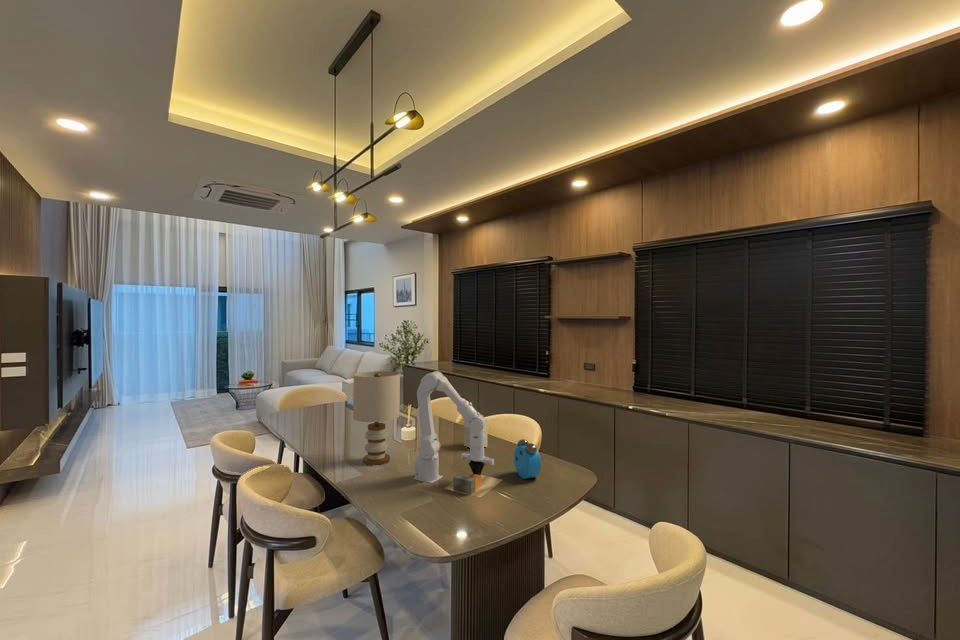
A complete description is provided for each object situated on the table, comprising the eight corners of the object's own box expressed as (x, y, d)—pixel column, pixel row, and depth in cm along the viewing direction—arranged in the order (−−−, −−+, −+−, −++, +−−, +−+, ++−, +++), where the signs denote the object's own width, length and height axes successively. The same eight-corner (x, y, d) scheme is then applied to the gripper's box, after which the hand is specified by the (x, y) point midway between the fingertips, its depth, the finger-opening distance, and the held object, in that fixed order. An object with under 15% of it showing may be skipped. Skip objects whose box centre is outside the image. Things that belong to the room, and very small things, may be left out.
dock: (444, 489, 151) (444, 475, 152) (469, 473, 168) (469, 460, 168) (479, 498, 144) (479, 484, 144) (502, 480, 160) (502, 467, 160)
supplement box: (477, 443, 210) (477, 415, 211) (487, 447, 204) (488, 418, 204) (463, 446, 205) (463, 417, 205) (474, 450, 198) (474, 421, 198)
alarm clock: (541, 482, 159) (541, 445, 159) (528, 484, 157) (528, 446, 157) (525, 470, 171) (525, 436, 171) (513, 472, 169) (513, 438, 169)
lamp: (372, 473, 167) (372, 377, 168) (343, 462, 180) (344, 373, 180) (408, 459, 184) (409, 372, 185) (380, 450, 197) (380, 369, 197)
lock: (460, 488, 152) (460, 476, 152) (468, 482, 157) (468, 471, 157) (474, 491, 149) (474, 479, 149) (481, 485, 154) (481, 474, 154)
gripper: (497, 446, 158) (497, 479, 157) (467, 440, 165) (467, 472, 165) (489, 450, 151) (489, 486, 151) (458, 444, 159) (457, 478, 159)
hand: (477, 479), depth 158 cm, fingers closed
